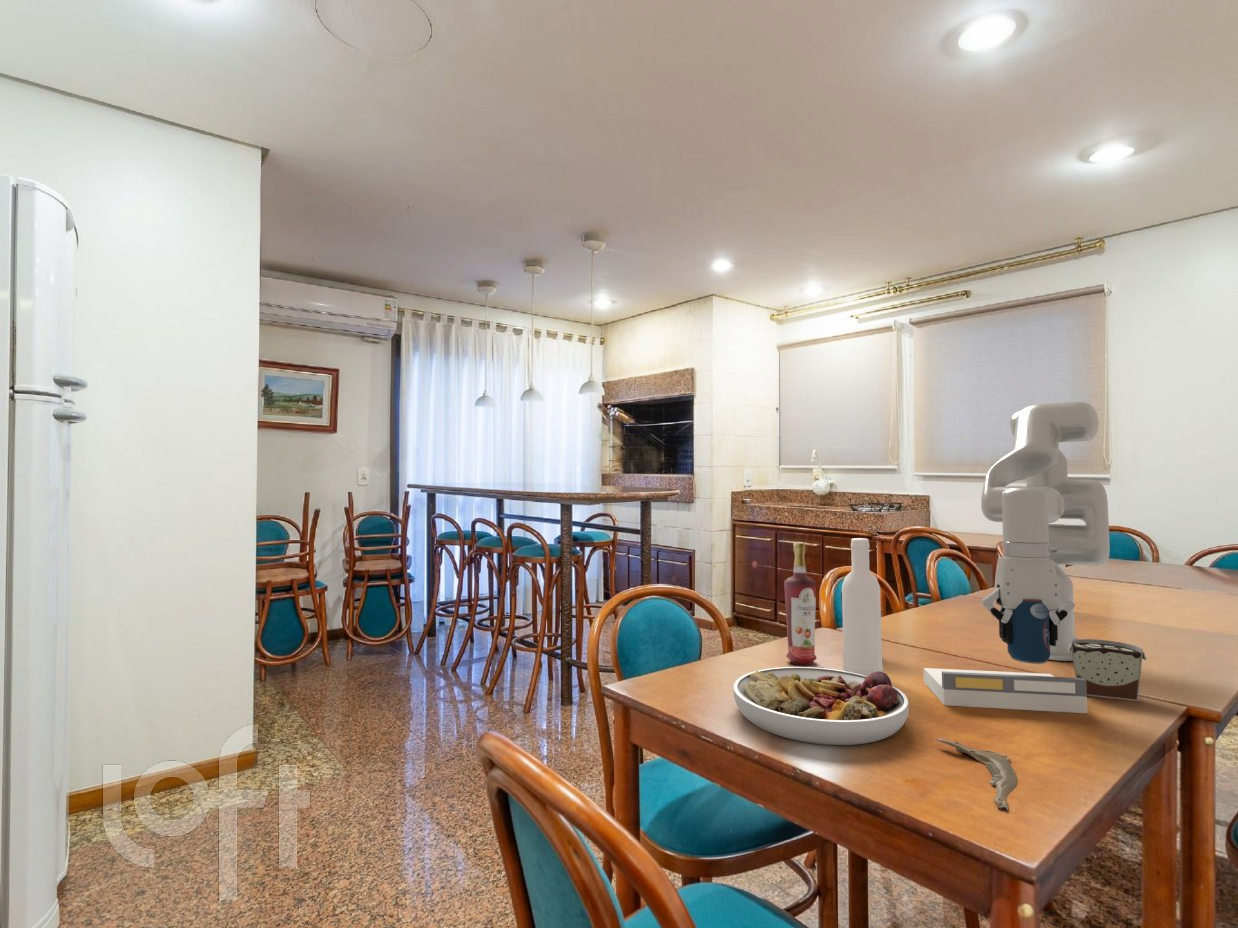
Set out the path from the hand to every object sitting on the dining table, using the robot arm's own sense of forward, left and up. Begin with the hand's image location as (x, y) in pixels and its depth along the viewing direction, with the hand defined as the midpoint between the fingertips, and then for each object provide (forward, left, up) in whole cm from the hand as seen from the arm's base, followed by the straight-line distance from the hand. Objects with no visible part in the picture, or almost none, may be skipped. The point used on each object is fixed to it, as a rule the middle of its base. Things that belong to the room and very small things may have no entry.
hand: (1028, 642), depth 122 cm
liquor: (+41, -19, -11) cm, 47 cm away
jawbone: (+22, +36, -12) cm, 43 cm away
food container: (-16, -7, -11) cm, 21 cm away
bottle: (+29, -9, -11) cm, 32 cm away
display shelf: (+5, -1, -11) cm, 12 cm away
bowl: (+41, +16, -12) cm, 45 cm away
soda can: (0, 0, -4) cm, 4 cm away
